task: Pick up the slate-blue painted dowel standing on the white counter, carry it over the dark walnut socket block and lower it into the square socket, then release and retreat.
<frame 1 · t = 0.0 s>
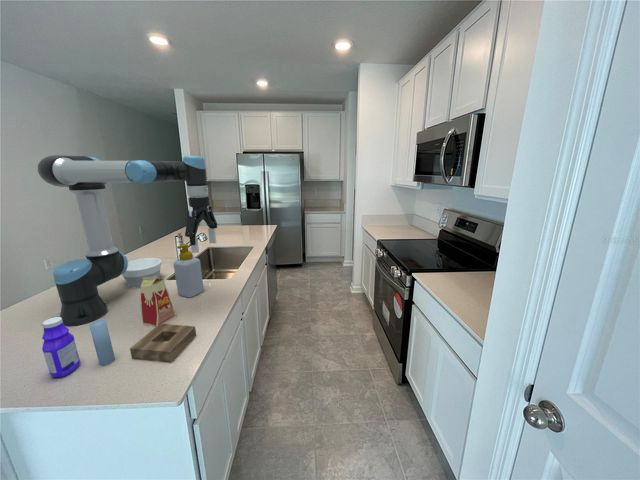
hand: (204, 247, 111), 28 cm above the countertop, fingers open, 13 cm apart
milk carton: (159, 320, 108), on the countertop
soap bottle: (191, 293, 132), on the countertop
bowl: (144, 282, 144), on the countertop
peg: (107, 361, 85), on the countertop
bottle: (67, 370, 82), on the countertop
socket block: (166, 346, 92), on the countertop
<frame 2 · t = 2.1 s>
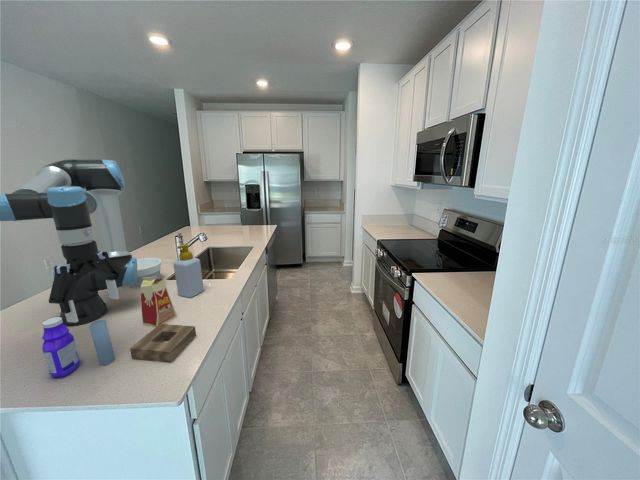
hand: (95, 309, 81), 19 cm above the countertop, fingers open, 13 cm apart
nothing on the countertop moved.
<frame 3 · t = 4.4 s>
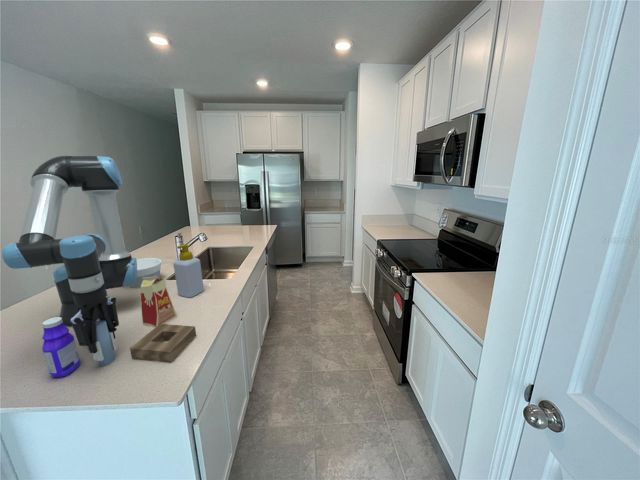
hand: (105, 354, 85), 3 cm above the countertop, fingers closed on peg, 4 cm apart
peg: (107, 361, 85), on the countertop, touching gripper
everything else where it was.
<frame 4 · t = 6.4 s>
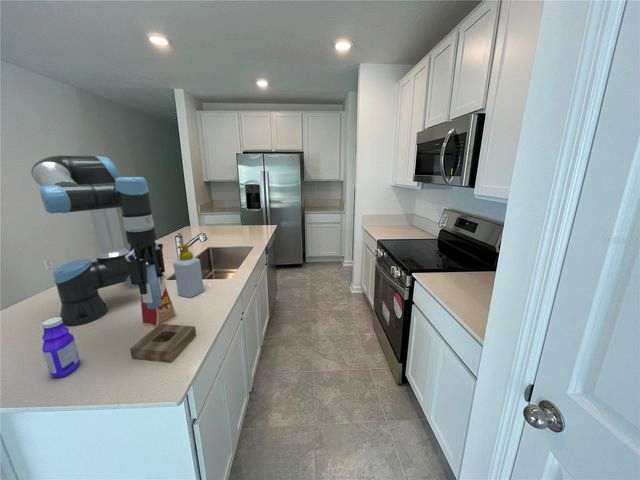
hand: (153, 298, 87), 19 cm above the countertop, fingers closed on peg, 4 cm apart
peg: (154, 305, 87), point 16 cm above the countertop, touching gripper
everything else where it was.
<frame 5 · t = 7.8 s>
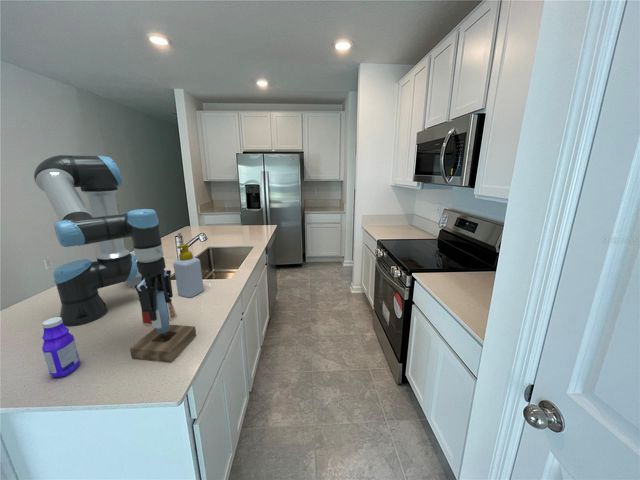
hand: (162, 323, 90), 9 cm above the countertop, fingers closed on peg, 4 cm apart
peg: (163, 330, 91), point 7 cm above the countertop, touching gripper
everything else where it was.
when the fingers open (5 cm above the countertop, at t = 8.7 s): peg drops 3 cm, resting in socket block.
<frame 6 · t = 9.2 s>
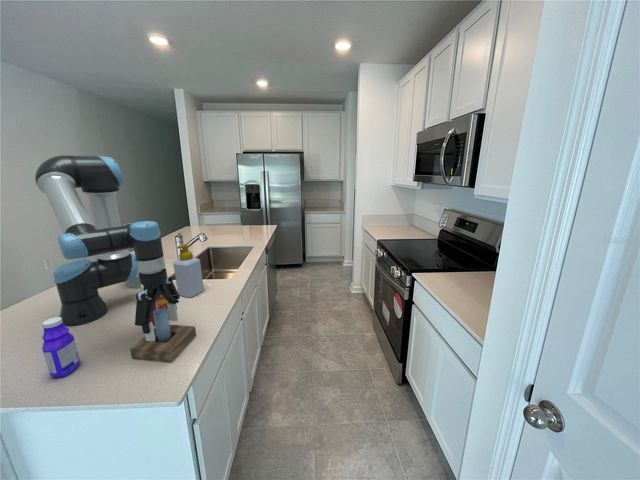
hand: (163, 329, 91), 7 cm above the countertop, fingers open, 11 cm apart
peg: (166, 346, 92), resting in socket block
everything else where it was.
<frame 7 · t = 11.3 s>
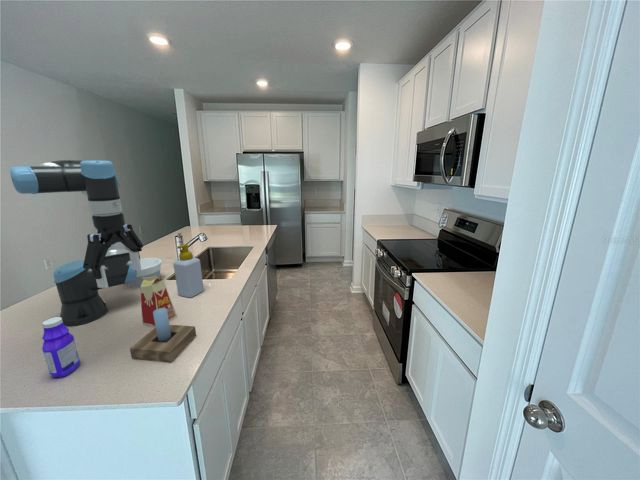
hand: (121, 277, 86), 26 cm above the countertop, fingers open, 13 cm apart
nothing on the countertop moved.
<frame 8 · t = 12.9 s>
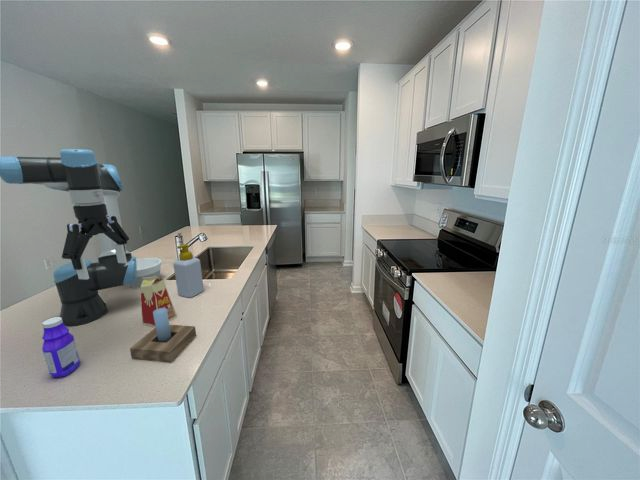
hand: (104, 270, 85), 29 cm above the countertop, fingers open, 13 cm apart
nothing on the countertop moved.
at the end: peg 0.0 cm off-centre on the socket block, point 0.0 cm above the socket block's base; peg tilted 0°; the gripper is holding nothing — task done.
